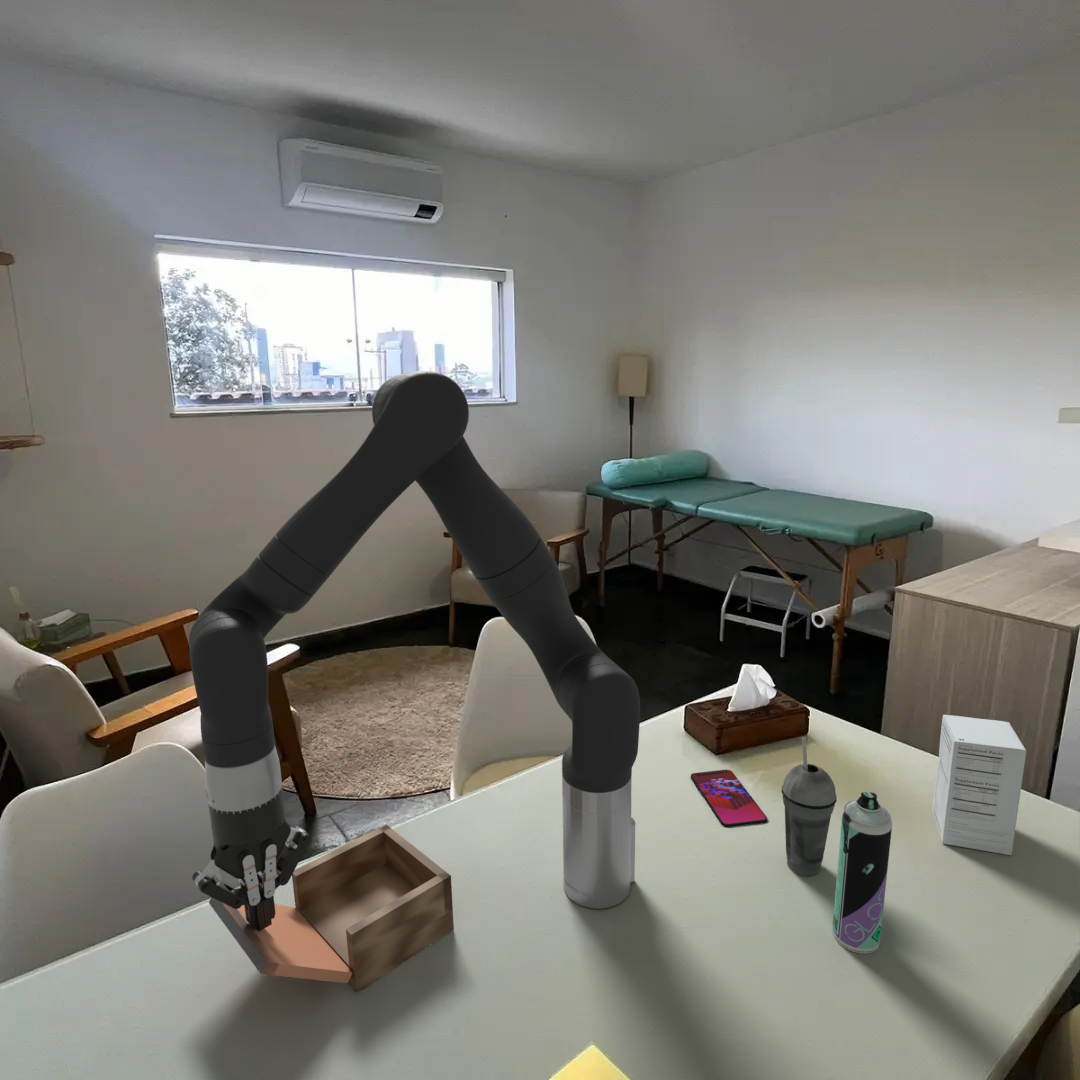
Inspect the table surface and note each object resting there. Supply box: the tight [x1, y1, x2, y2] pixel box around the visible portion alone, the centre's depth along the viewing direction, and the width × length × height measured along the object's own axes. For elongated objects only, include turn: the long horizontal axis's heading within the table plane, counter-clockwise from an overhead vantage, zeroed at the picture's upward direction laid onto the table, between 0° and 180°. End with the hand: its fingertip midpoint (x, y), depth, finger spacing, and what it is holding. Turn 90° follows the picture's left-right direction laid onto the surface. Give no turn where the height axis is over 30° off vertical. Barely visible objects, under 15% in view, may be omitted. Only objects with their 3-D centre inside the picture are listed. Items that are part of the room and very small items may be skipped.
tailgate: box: [208, 897, 353, 984], centre depth 85 cm, size 1×15×12 cm
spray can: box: [831, 791, 893, 955], centre depth 89 cm, size 6×6×20 cm
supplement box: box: [931, 714, 1027, 856], centre depth 109 cm, size 10×9×17 cm
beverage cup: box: [780, 736, 838, 877], centre depth 102 cm, size 7×7×20 cm
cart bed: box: [291, 824, 455, 994], centre depth 94 cm, size 14×15×8 cm
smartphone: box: [690, 769, 768, 828], centre depth 121 cm, size 8×1×15 cm
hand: (262, 924), depth 83 cm, fingers closed
